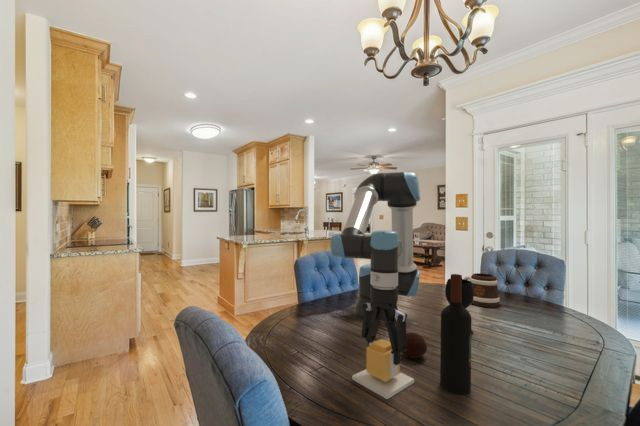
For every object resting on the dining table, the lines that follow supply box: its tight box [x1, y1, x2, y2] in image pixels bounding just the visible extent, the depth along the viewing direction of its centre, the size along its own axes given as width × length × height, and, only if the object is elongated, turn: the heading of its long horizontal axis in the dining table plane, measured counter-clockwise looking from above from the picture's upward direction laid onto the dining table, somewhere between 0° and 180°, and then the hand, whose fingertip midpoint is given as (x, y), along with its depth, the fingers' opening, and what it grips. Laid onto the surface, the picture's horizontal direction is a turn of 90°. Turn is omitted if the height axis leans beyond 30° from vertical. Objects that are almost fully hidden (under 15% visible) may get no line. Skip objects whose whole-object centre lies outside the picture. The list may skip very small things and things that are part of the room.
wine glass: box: [444, 278, 474, 336], centre depth 122 cm, size 10×10×20 cm
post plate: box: [351, 368, 415, 400], centre depth 85 cm, size 12×12×6 cm
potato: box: [401, 332, 428, 360], centre depth 99 cm, size 8×9×8 cm
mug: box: [463, 273, 501, 309], centre depth 162 cm, size 20×15×15 cm
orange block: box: [365, 338, 401, 382], centre depth 84 cm, size 6×6×8 cm
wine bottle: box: [439, 273, 472, 396], centre depth 82 cm, size 8×8×30 cm
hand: (383, 369), depth 84 cm, fingers closed on orange block, 6 cm apart
